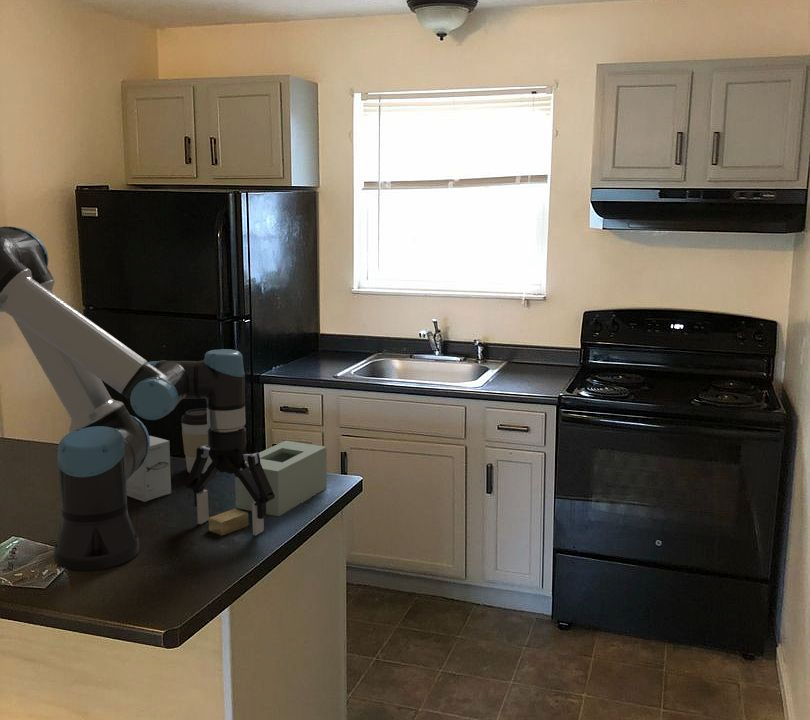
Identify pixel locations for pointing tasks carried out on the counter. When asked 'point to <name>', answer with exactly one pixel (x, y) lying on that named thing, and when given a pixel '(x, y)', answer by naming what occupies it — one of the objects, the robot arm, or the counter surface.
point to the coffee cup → (194, 435)
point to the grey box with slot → (288, 476)
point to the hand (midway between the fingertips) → (230, 527)
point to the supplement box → (152, 473)
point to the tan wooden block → (228, 521)
